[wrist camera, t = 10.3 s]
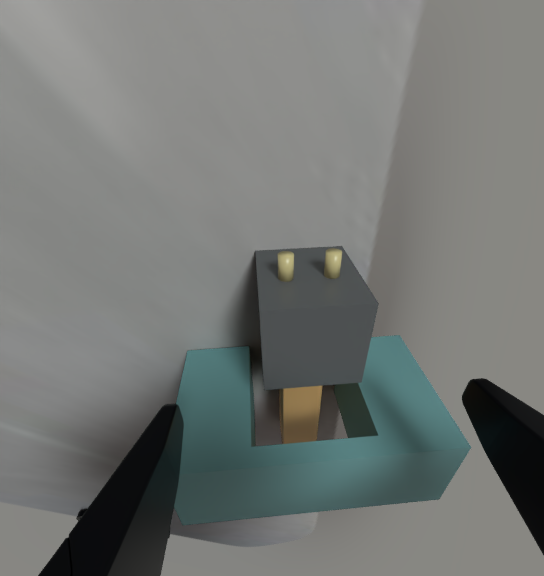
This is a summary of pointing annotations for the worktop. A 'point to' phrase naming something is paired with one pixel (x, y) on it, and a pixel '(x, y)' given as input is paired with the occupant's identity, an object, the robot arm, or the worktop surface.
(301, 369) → the plug
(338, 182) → the worktop surface
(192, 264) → the worktop surface
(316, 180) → the worktop surface
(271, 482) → the housing
